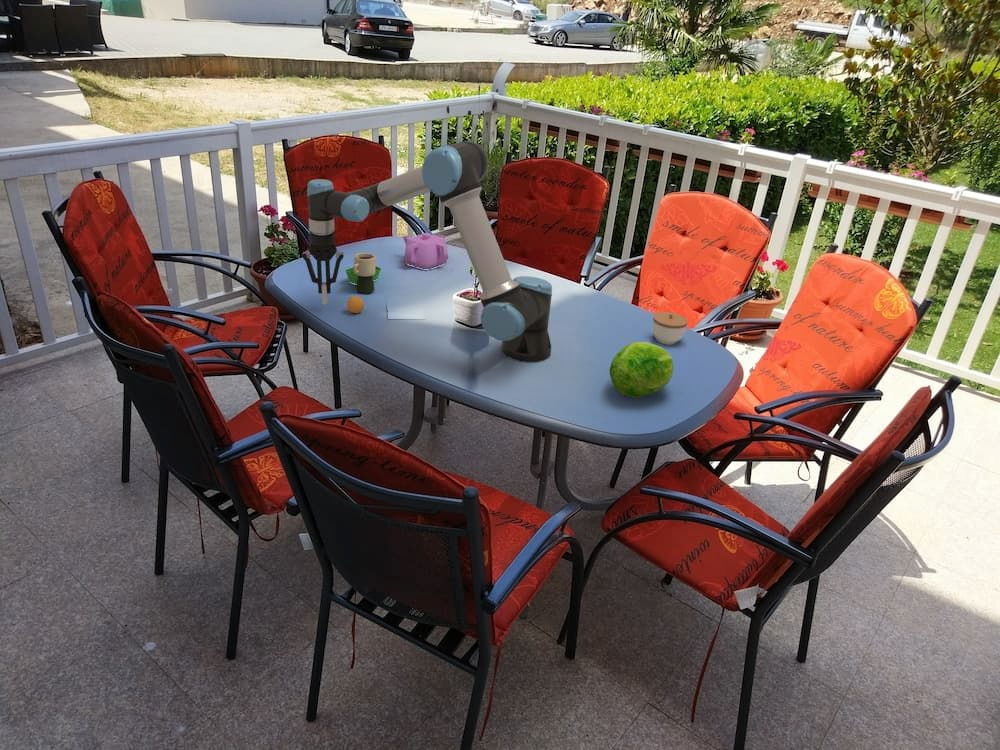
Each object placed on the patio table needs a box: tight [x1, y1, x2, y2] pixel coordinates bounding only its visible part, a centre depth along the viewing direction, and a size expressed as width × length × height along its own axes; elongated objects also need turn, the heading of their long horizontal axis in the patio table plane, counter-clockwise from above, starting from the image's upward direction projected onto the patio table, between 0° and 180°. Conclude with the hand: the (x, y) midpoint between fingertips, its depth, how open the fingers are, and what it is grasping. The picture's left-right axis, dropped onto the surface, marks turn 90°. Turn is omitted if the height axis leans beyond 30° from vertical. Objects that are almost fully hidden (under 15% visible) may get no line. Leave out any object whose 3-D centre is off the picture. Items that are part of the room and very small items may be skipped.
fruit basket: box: [345, 265, 382, 284], centre depth 253 cm, size 11×9×11 cm
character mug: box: [352, 252, 377, 294], centre depth 245 cm, size 11×7×13 cm, turn 147°
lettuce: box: [609, 341, 674, 399], centre depth 194 cm, size 15×23×16 cm
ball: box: [346, 295, 365, 314], centre depth 230 cm, size 6×6×6 cm
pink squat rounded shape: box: [402, 232, 449, 269], centre depth 275 cm, size 17×17×12 cm
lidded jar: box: [652, 311, 688, 346], centre depth 227 cm, size 11×11×9 cm
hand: (325, 302), depth 228 cm, fingers closed
